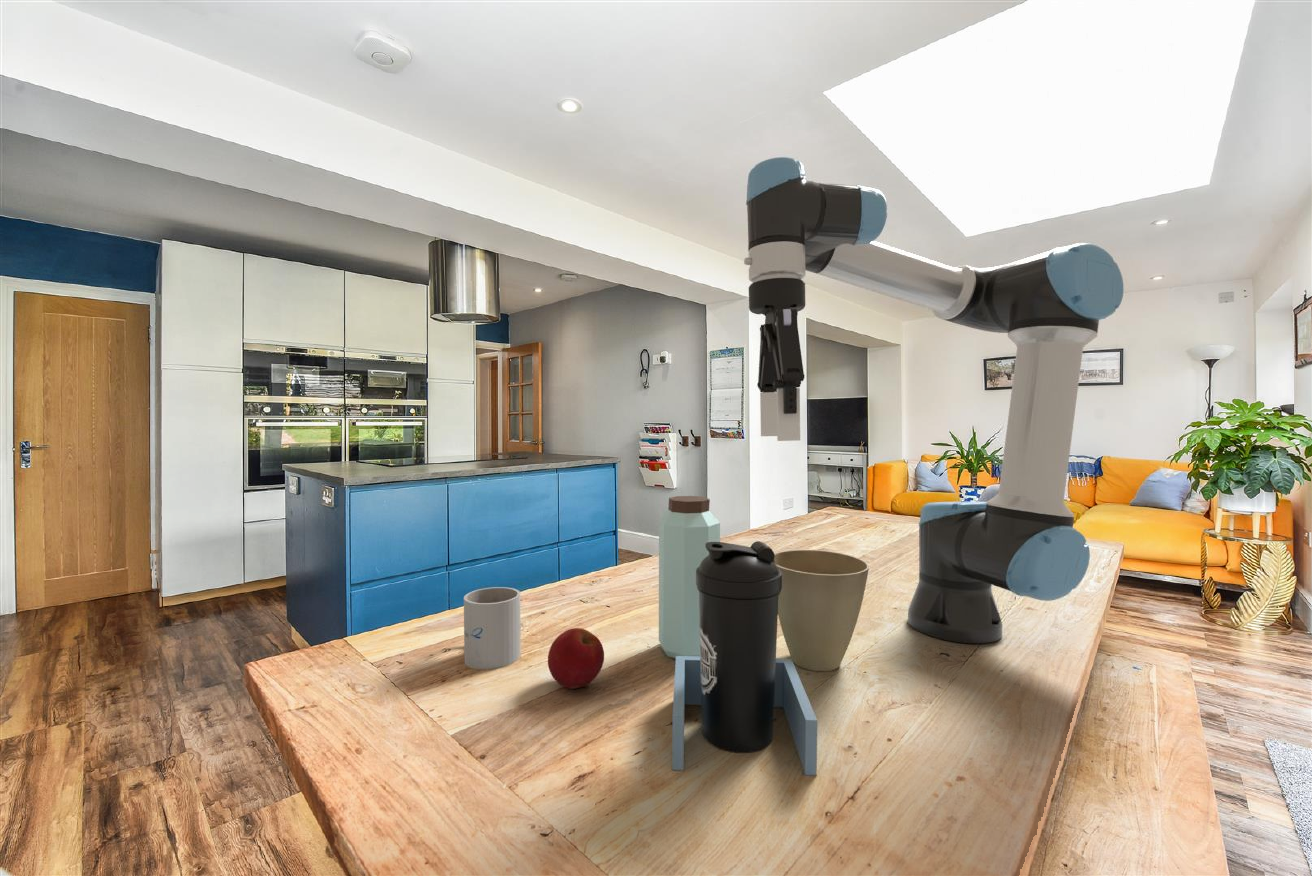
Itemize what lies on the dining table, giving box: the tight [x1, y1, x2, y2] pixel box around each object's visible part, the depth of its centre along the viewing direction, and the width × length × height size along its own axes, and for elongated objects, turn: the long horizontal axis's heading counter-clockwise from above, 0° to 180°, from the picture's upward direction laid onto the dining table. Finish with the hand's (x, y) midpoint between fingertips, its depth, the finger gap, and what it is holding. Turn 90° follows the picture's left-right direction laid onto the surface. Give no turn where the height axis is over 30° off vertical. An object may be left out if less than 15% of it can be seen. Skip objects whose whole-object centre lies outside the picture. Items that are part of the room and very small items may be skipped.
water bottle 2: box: [696, 540, 782, 754], centre depth 68 cm, size 10×10×23 cm
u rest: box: [671, 656, 818, 776], centre depth 69 cm, size 15×15×6 cm
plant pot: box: [774, 549, 870, 672], centre depth 89 cm, size 15×15×16 cm
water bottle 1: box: [658, 495, 721, 660], centre depth 93 cm, size 10×10×25 cm
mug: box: [463, 586, 522, 670], centre depth 92 cm, size 12×9×10 cm
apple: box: [547, 627, 605, 690], centre depth 81 cm, size 8×8×8 cm
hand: (778, 438), depth 78 cm, fingers open, 13 cm apart
